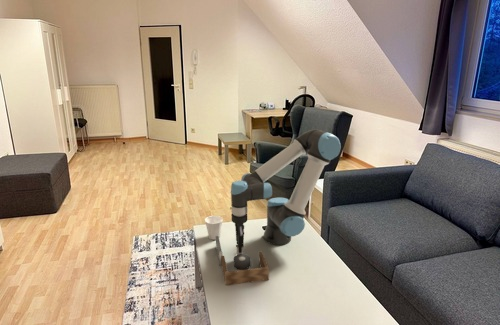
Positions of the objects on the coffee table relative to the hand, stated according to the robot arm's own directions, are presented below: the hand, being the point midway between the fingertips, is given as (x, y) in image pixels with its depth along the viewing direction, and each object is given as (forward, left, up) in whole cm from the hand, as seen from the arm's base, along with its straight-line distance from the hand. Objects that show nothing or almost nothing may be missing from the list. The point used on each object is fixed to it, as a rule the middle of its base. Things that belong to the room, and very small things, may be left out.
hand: (239, 256), depth 170 cm
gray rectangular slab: (+10, -5, -1) cm, 11 cm away
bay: (0, +11, -2) cm, 12 cm away
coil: (0, +5, -2) cm, 5 cm away
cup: (+10, -25, -2) cm, 27 cm away
